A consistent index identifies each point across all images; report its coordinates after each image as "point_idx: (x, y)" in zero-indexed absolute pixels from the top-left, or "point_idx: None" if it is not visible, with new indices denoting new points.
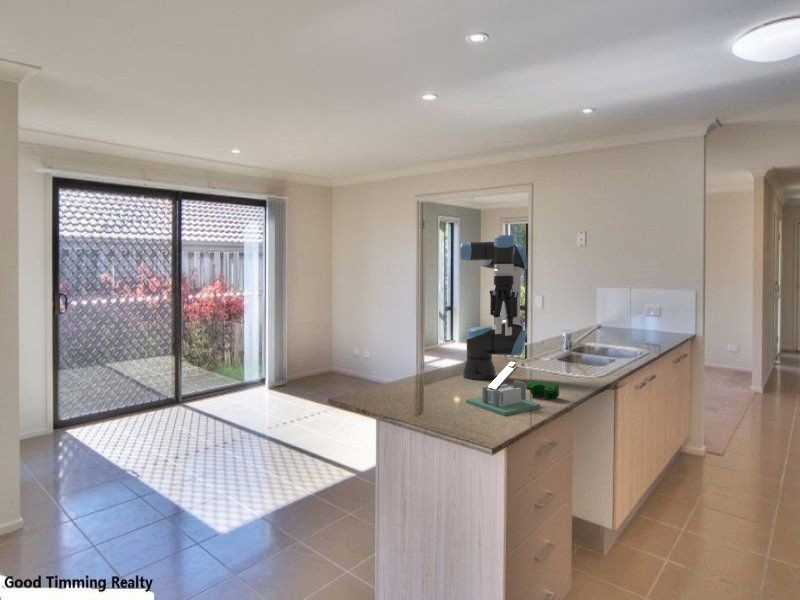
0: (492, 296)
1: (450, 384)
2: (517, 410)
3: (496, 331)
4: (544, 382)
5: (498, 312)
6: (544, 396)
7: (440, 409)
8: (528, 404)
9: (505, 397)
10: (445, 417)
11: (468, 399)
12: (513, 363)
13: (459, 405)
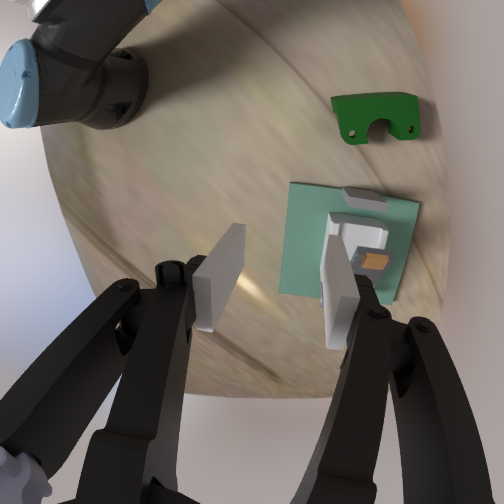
0: (59, 467)
1: (135, 200)
2: (401, 271)
3: (240, 272)
4: (380, 101)
5: (185, 336)
6: (392, 134)
7: (278, 346)
8: (402, 224)
9: None
10: (316, 365)
11: (280, 288)
12: (382, 263)
13: (283, 310)
